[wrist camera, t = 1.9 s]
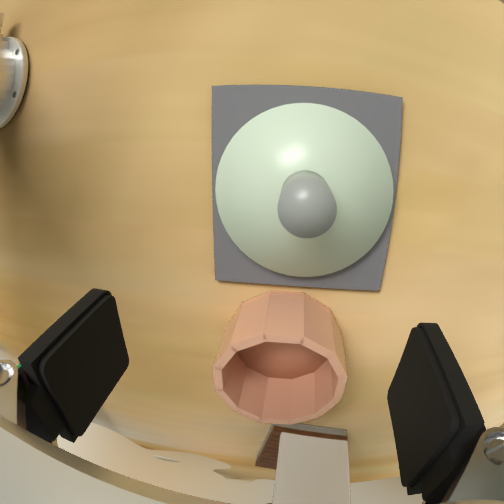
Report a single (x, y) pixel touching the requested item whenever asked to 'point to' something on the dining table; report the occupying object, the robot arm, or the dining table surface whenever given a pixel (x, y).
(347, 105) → the mat
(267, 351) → the bowl
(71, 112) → the dining table surface
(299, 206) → the lid
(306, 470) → the grey two-tier tower
